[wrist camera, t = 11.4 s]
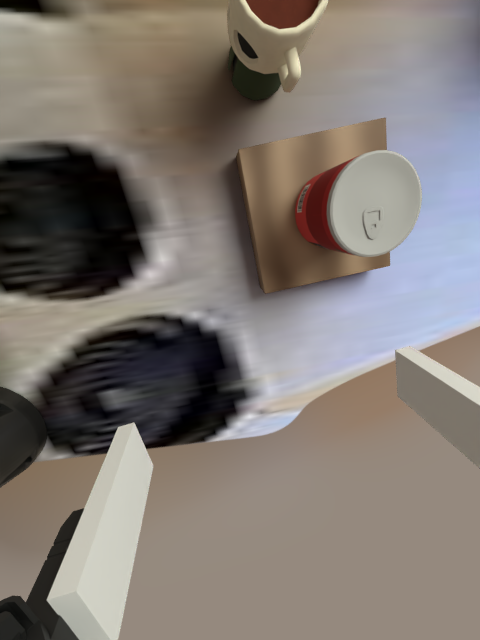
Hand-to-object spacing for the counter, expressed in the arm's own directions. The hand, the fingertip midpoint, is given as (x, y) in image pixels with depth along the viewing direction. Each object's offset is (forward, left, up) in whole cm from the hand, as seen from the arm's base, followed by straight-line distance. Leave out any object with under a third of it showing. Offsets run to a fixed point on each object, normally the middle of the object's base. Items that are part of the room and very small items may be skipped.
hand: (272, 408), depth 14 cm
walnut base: (+12, +7, -27) cm, 30 cm away
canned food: (+12, +7, -23) cm, 27 cm away
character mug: (+8, +23, -27) cm, 36 cm away
